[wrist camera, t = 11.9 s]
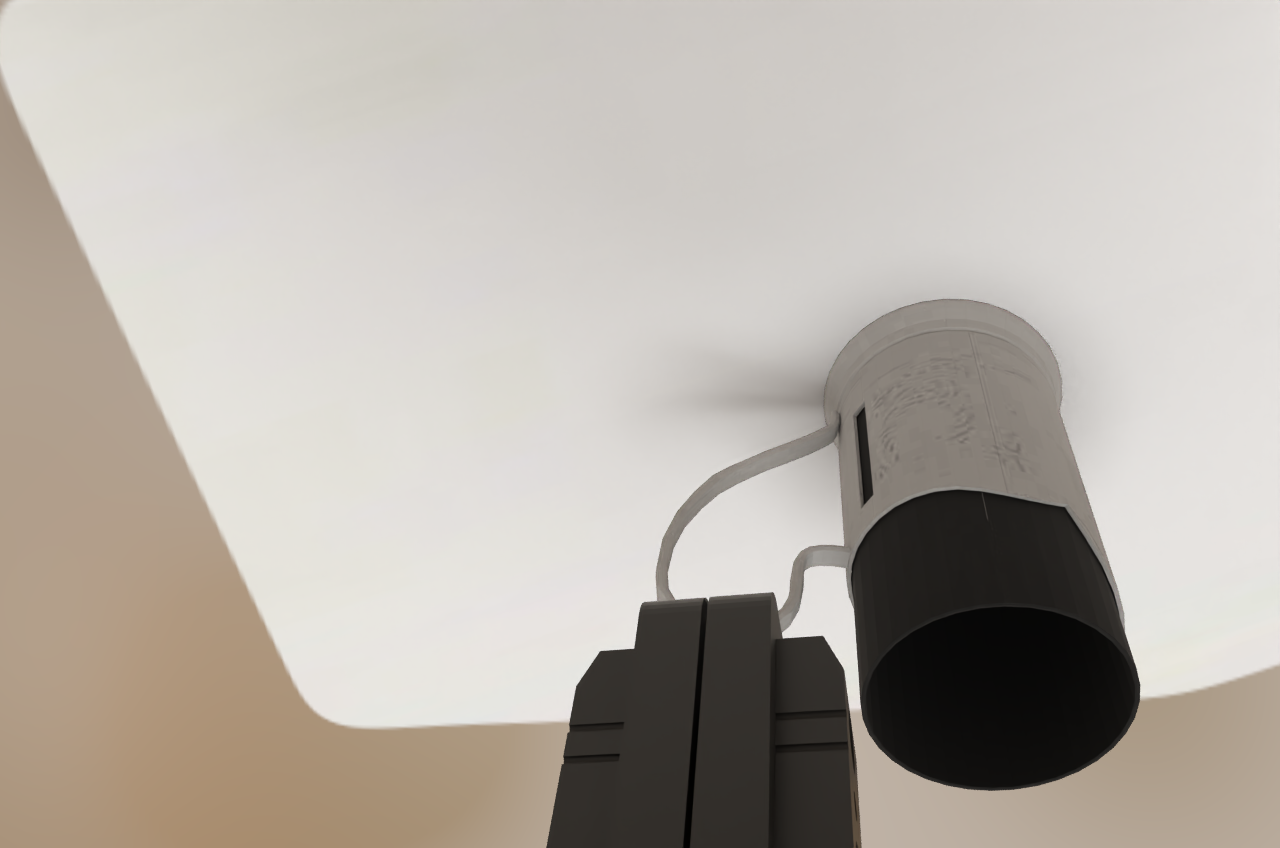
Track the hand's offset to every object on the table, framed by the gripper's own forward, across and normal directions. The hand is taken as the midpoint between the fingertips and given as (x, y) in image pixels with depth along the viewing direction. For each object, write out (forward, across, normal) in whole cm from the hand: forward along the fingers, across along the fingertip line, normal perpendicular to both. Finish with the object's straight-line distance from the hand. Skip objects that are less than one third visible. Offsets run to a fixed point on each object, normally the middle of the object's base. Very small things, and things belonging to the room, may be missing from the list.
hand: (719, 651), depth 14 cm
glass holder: (+29, -2, +16) cm, 33 cm away
